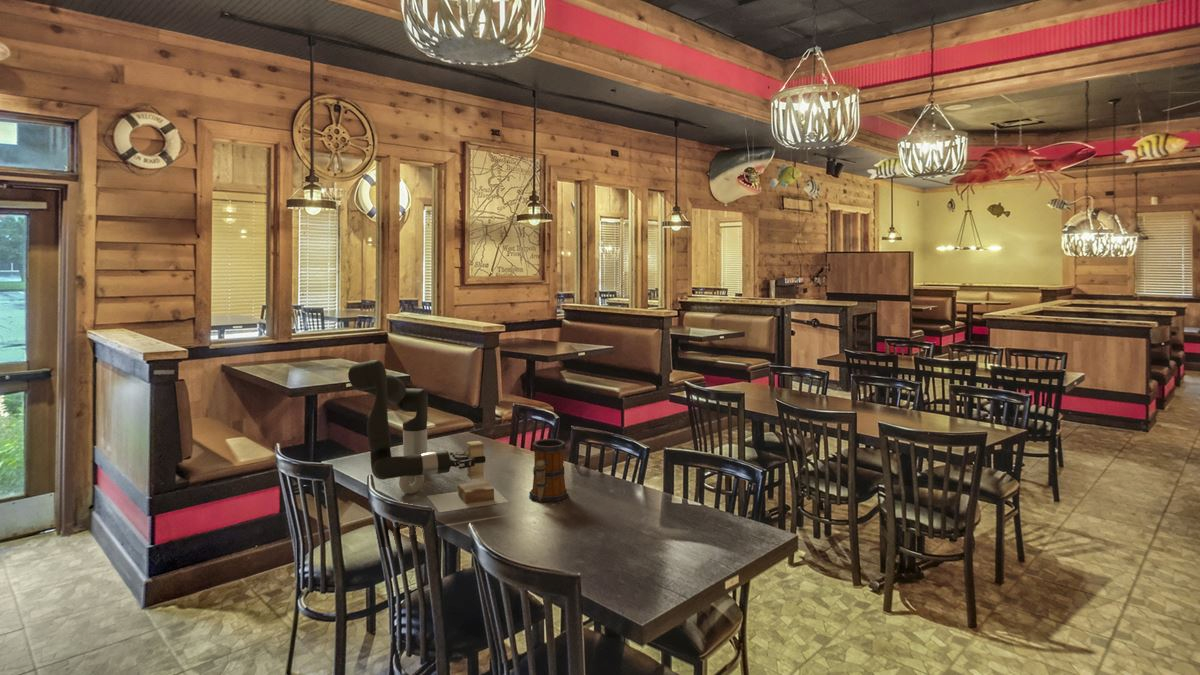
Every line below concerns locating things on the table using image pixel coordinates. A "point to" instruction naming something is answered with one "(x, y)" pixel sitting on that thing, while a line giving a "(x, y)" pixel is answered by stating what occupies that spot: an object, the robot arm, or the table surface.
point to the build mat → (460, 501)
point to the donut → (415, 486)
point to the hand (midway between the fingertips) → (482, 457)
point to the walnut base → (475, 492)
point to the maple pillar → (475, 451)
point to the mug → (548, 472)
